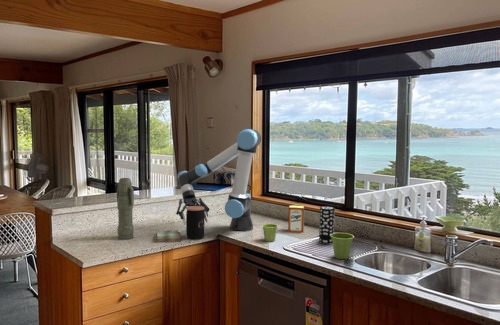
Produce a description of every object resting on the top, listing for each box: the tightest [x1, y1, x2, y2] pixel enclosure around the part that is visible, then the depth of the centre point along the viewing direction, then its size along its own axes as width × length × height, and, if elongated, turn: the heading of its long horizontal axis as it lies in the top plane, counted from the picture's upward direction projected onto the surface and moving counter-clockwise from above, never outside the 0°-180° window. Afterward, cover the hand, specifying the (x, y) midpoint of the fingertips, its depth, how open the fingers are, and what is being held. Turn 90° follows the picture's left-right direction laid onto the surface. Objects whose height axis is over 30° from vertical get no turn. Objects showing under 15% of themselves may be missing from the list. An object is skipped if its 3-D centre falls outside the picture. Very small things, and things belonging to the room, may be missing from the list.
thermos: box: [116, 177, 135, 241], centre depth 239 cm, size 9×12×35 cm
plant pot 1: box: [261, 223, 279, 242], centre depth 239 cm, size 9×9×9 cm
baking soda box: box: [287, 205, 305, 233], centre depth 260 cm, size 10×6×16 cm
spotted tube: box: [318, 206, 336, 245], centre depth 235 cm, size 8×8×20 cm
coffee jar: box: [185, 206, 206, 241], centre depth 242 cm, size 11×11×18 cm
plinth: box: [154, 229, 181, 244], centre depth 239 cm, size 14×14×4 cm
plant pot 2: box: [330, 232, 355, 260], centre depth 208 cm, size 12×12×11 cm
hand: (196, 222), depth 240 cm, fingers open, 13 cm apart
